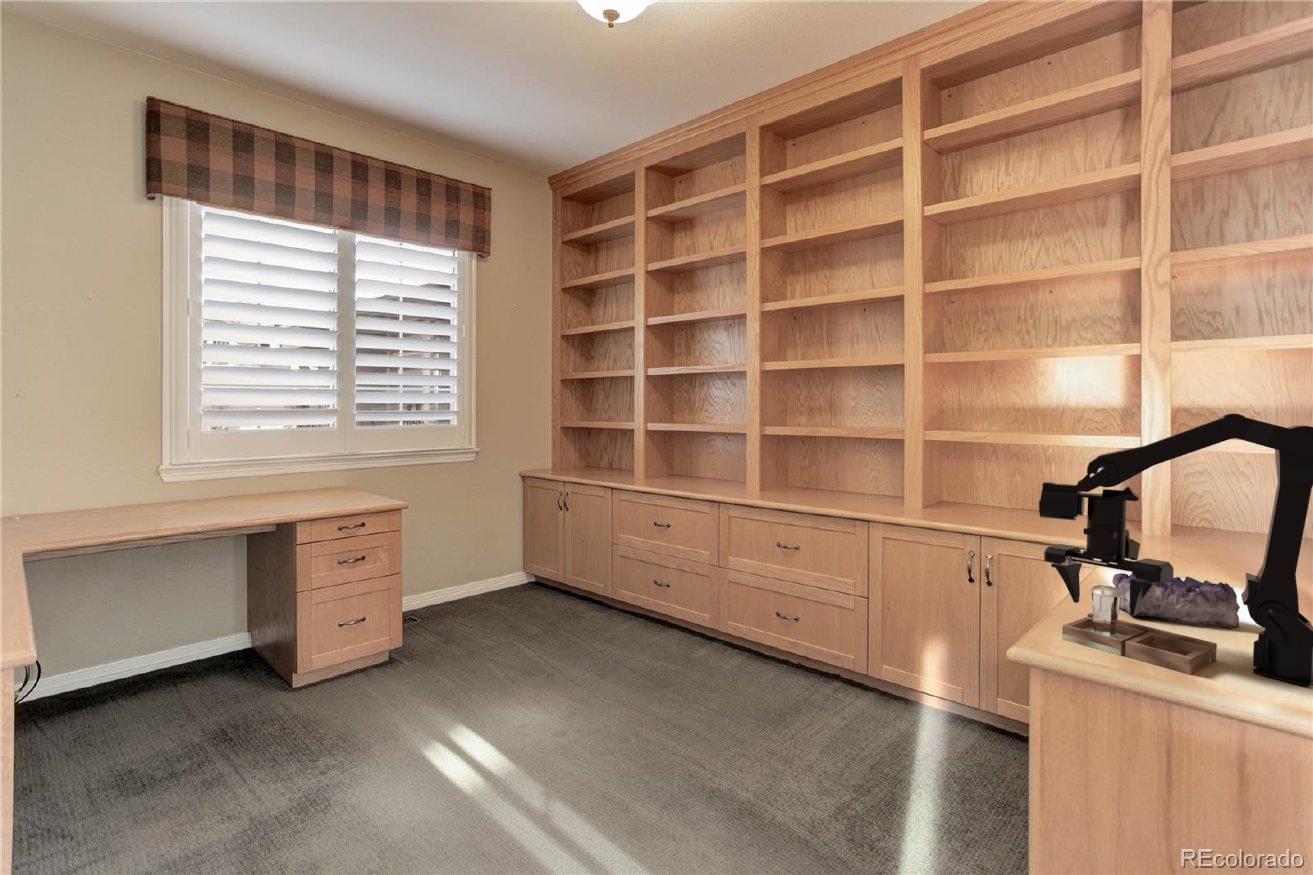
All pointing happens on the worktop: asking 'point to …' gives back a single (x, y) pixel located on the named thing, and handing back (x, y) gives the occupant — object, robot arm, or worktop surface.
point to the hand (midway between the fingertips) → (1103, 608)
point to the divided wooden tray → (1145, 644)
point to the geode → (1184, 601)
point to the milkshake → (1105, 609)
